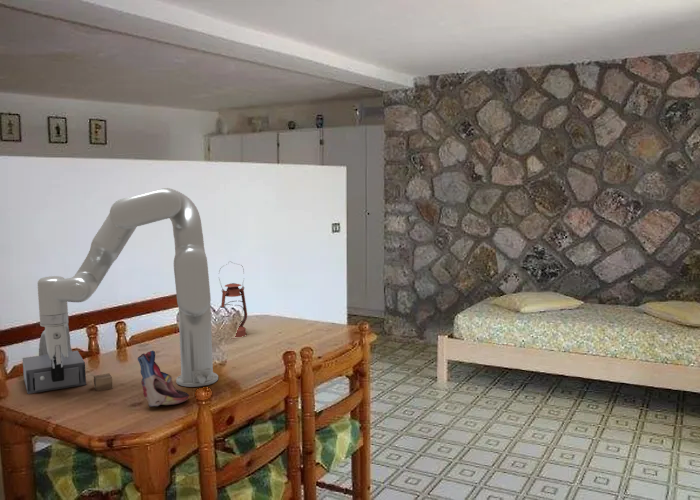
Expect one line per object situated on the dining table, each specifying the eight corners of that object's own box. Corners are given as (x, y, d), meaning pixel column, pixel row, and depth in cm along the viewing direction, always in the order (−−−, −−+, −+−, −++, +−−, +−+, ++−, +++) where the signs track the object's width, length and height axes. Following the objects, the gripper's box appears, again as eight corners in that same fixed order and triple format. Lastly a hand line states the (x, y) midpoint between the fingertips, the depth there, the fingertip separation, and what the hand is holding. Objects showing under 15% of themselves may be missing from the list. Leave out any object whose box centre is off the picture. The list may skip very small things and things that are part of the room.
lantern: (241, 339, 250) (238, 262, 247) (216, 338, 252) (213, 262, 249) (250, 333, 260) (247, 259, 256) (226, 332, 262) (223, 259, 258)
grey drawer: (79, 384, 193) (78, 368, 192) (35, 391, 187) (34, 374, 186) (72, 371, 206) (72, 356, 206) (31, 377, 200) (30, 361, 200)
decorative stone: (45, 373, 208) (42, 328, 206) (34, 370, 211) (31, 326, 210) (75, 365, 217) (73, 321, 216) (64, 362, 220) (62, 319, 219)
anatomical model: (185, 409, 173) (182, 355, 171) (137, 411, 172) (134, 357, 170) (191, 398, 182) (188, 346, 181) (145, 400, 181) (143, 348, 180)
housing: (86, 384, 196) (84, 362, 195) (27, 393, 188) (26, 370, 187) (78, 371, 209) (77, 350, 209) (23, 379, 201) (22, 357, 201)
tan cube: (112, 388, 192) (112, 377, 191) (96, 391, 190) (96, 379, 189) (109, 384, 196) (109, 373, 195) (94, 386, 193) (93, 375, 193)
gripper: (71, 322, 182) (75, 385, 184) (64, 313, 195) (68, 372, 197) (42, 325, 178) (46, 389, 180) (37, 316, 191) (41, 376, 193)
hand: (58, 380), depth 188 cm, fingers closed
